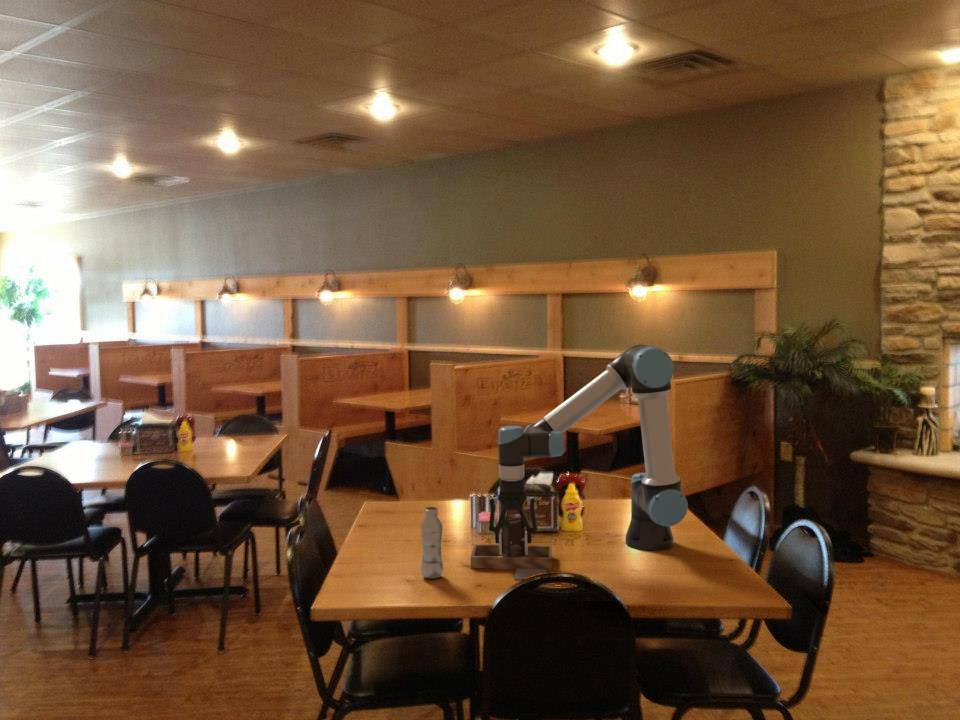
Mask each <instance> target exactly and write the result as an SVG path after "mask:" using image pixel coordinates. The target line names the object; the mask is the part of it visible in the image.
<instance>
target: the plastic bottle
mask: <svg viewBox="0 0 960 720" xmlns="http://www.w3.org/2000/svg"><path fill="white" fill-rule="evenodd" d="M438 510H439V509H438V507H436V506H426V507H425V508H424V516H425V517H424V519H422V521H421V524H420V533H421V534H420V535H421V542H422V543H421V544H422V553H421V555H422V556H421V557H422V559H421V565H420V572H421V575H422V577H423V578H425V579H431V580H432V579H438V578H441V577H442V575H443V573H444V563H443V557H442V556H443V555H442V537H443V528H444V525H443V523H442V522H441V519H440V518H439V517H438V515H439V511H438Z"/></svg>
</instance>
